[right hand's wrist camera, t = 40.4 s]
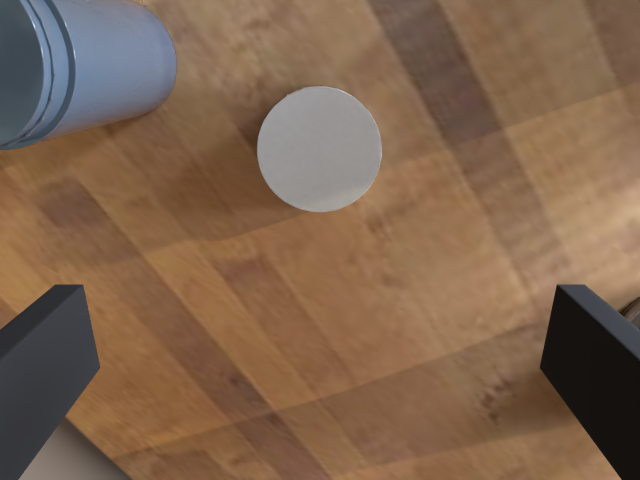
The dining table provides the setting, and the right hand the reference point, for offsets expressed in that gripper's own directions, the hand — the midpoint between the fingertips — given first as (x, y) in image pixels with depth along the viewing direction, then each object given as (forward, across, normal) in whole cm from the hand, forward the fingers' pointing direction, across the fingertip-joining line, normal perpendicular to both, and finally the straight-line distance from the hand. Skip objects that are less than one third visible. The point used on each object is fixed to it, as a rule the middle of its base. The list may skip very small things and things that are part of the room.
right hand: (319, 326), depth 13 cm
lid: (+28, 0, 0) cm, 28 cm away
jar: (+30, +17, -8) cm, 35 cm away
